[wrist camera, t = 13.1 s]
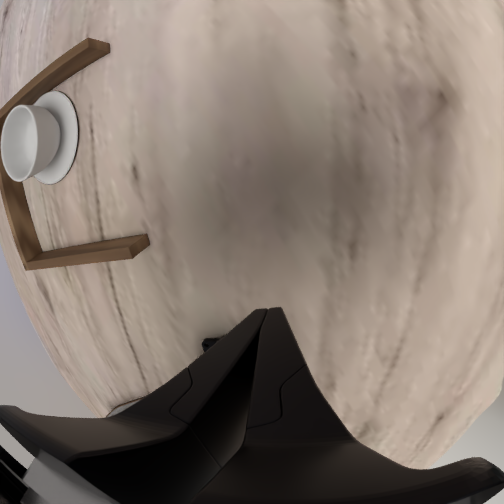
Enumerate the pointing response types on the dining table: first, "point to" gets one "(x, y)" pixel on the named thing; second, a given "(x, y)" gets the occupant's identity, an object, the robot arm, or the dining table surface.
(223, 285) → the dining table surface
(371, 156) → the dining table surface
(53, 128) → the teacup
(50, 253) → the corral
